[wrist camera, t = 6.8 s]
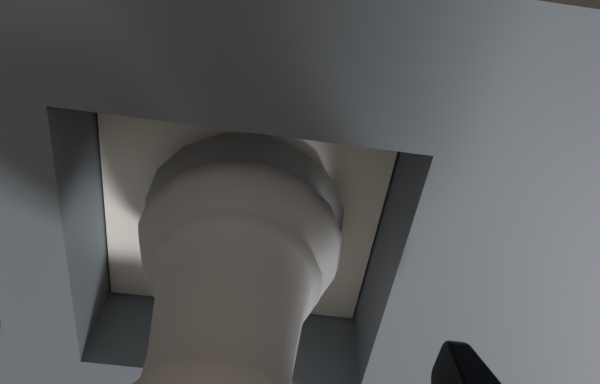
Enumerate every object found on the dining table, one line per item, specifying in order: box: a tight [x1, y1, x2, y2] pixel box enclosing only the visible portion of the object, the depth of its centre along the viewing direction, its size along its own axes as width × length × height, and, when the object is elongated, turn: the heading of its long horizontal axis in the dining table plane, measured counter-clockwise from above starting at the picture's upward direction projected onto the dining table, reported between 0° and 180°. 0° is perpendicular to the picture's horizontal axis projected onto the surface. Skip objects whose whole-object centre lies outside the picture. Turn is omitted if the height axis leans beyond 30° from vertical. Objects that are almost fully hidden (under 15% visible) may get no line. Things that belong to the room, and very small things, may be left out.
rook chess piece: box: [132, 134, 344, 384], centre depth 10 cm, size 4×4×8 cm
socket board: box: [0, 0, 600, 384], centre depth 12 cm, size 18×12×2 cm, turn 82°
